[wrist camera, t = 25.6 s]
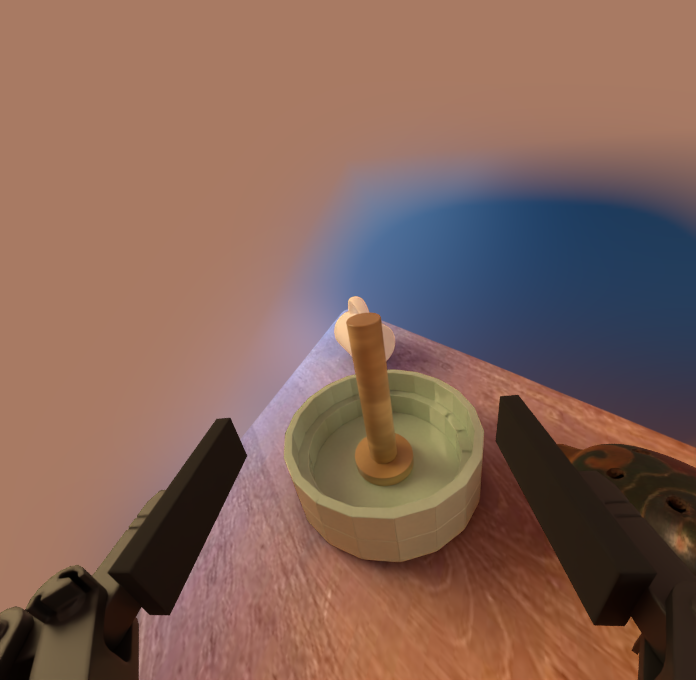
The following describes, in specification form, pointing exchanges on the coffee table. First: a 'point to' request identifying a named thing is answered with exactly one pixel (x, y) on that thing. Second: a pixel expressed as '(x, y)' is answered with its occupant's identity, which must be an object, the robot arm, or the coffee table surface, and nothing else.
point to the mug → (341, 332)
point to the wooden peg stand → (376, 406)
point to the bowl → (396, 500)
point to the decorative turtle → (649, 489)
